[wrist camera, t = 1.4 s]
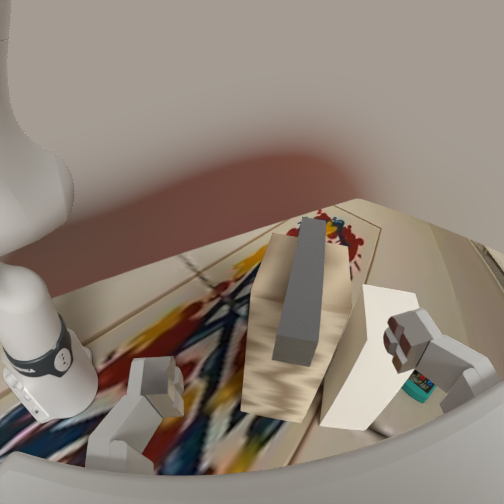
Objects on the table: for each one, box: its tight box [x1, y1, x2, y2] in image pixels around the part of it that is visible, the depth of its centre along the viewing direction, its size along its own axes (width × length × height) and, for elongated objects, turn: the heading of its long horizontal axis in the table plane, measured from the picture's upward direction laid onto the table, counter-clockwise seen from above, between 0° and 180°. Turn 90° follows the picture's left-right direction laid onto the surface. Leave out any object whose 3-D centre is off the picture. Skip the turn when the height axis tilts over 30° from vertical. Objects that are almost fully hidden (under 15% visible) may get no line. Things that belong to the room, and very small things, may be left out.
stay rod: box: [272, 217, 326, 367], centre depth 29 cm, size 3×20×3 cm, turn 166°
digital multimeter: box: [401, 368, 436, 403], centre depth 48 cm, size 7×15×3 cm, turn 125°
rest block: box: [319, 284, 419, 430], centre depth 38 cm, size 8×10×22 cm
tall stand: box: [241, 233, 352, 423], centre depth 40 cm, size 10×12×26 cm
